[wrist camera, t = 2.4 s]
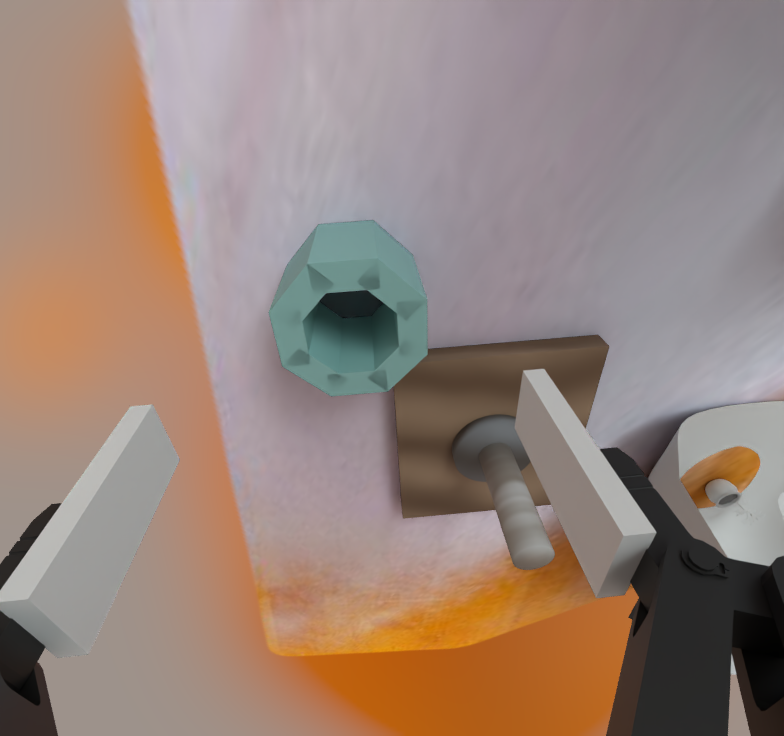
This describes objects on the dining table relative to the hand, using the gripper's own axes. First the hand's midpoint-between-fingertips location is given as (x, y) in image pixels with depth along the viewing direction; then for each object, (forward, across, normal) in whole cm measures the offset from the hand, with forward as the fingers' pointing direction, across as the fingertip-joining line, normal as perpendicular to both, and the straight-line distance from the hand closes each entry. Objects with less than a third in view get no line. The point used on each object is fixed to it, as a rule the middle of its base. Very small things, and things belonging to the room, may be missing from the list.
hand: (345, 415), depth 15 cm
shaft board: (+12, +9, -13) cm, 20 cm away
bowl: (+12, +31, -22) cm, 40 cm away
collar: (+12, 0, 0) cm, 12 cm away
